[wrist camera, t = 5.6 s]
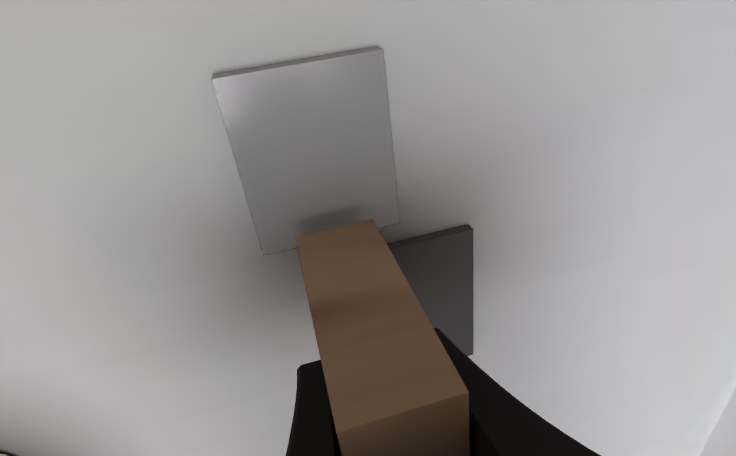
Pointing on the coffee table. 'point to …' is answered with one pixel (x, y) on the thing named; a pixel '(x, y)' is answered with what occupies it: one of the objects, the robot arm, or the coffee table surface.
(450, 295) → the pad
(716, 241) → the coffee table surface
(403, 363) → the brown wooden block
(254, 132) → the tile
